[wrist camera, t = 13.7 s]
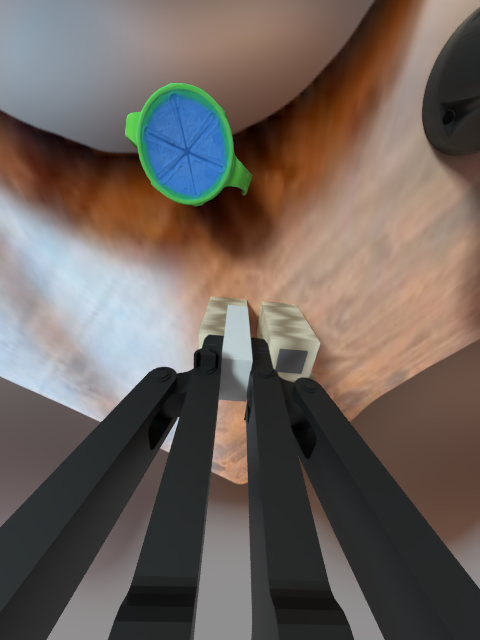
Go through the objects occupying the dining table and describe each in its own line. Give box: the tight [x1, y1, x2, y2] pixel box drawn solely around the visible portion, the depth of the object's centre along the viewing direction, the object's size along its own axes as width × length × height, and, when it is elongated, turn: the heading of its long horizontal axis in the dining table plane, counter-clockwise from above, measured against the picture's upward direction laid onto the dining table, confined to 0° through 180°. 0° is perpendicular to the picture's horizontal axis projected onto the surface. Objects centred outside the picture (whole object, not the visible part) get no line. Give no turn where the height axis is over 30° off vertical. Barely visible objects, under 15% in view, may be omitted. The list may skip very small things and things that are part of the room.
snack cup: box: [125, 83, 252, 206], centre depth 27 cm, size 16×10×10 cm
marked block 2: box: [198, 296, 247, 350], centre depth 37 cm, size 7×7×14 cm
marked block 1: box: [257, 301, 320, 380], centre depth 37 cm, size 7×7×14 cm
